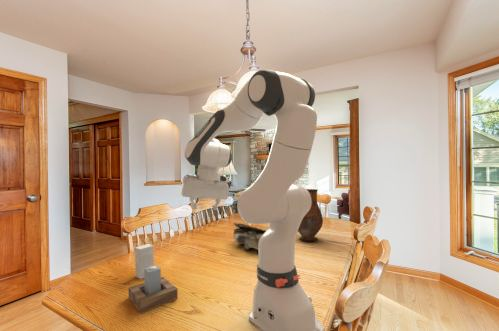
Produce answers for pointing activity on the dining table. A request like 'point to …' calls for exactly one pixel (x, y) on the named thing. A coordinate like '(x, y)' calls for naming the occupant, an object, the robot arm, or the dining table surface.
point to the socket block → (152, 296)
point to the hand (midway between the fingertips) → (204, 209)
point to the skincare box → (143, 259)
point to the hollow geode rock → (247, 235)
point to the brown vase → (311, 220)
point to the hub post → (152, 279)
